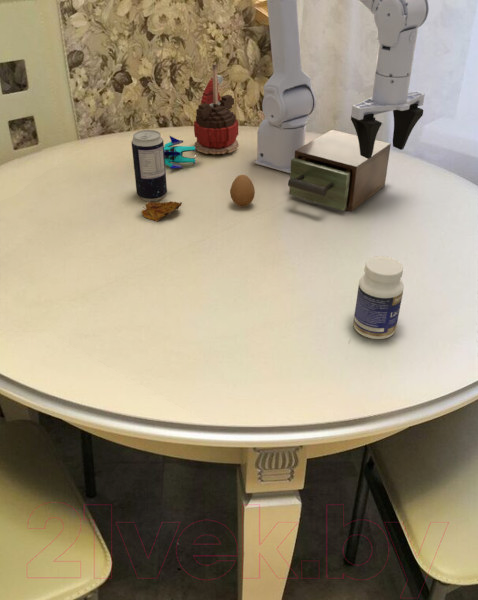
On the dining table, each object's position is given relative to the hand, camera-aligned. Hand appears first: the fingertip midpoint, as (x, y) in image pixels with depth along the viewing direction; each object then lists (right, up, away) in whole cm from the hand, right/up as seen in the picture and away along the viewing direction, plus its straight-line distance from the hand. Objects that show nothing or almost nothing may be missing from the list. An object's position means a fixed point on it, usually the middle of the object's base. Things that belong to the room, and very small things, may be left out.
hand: (382, 152), depth 109 cm
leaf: (-39, -10, +2) cm, 41 cm away
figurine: (-40, +1, +19) cm, 44 cm away
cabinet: (-6, -5, +10) cm, 13 cm away
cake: (-30, +7, +28) cm, 41 cm away
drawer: (-9, -6, +7) cm, 13 cm away
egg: (-25, -9, +5) cm, 27 cm away
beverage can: (-42, -7, +8) cm, 43 cm away
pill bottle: (-7, -30, -25) cm, 40 cm away
